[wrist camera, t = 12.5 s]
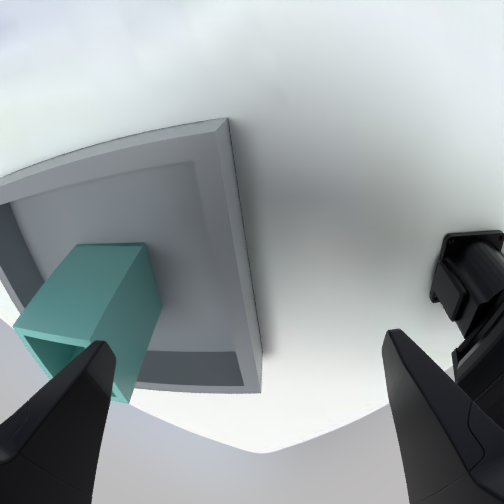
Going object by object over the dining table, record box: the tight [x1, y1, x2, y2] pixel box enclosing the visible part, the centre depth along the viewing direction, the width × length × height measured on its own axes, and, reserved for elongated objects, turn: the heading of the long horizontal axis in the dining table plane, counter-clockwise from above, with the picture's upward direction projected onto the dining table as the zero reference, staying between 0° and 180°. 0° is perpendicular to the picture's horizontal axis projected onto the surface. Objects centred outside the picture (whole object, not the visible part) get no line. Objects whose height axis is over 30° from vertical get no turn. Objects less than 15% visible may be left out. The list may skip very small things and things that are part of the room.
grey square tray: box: [0, 118, 263, 394], centre depth 21 cm, size 20×20×4 cm
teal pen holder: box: [13, 242, 163, 404], centre depth 18 cm, size 6×6×9 cm
